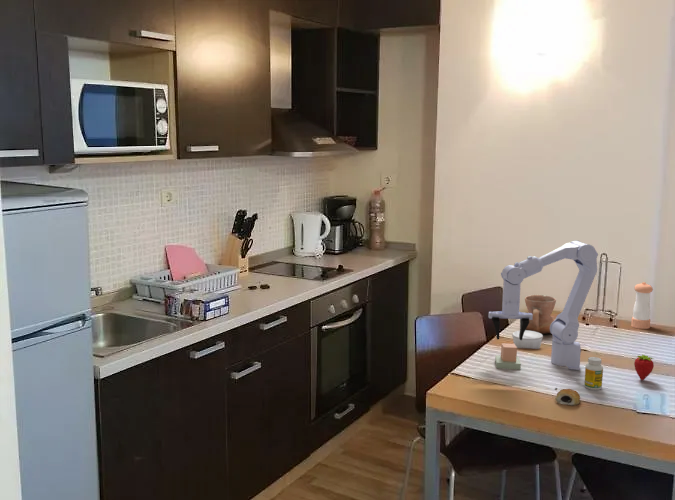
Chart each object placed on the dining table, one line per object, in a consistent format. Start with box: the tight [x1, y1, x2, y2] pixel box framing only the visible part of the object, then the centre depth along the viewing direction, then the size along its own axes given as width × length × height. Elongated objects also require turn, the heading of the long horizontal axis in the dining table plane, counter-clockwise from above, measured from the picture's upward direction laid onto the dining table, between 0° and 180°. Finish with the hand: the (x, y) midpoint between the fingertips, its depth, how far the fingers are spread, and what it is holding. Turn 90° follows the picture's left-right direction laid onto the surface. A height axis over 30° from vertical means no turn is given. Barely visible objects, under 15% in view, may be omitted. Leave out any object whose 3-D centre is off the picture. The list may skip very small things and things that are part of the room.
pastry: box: [555, 388, 581, 407], centre depth 213 cm, size 9×7×4 cm
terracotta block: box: [500, 342, 518, 362], centre depth 240 cm, size 4×4×5 cm
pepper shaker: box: [630, 281, 654, 330], centre depth 292 cm, size 7×7×19 cm
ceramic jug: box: [524, 294, 557, 335], centre depth 284 cm, size 18×14×14 cm
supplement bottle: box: [584, 356, 604, 391], centre depth 223 cm, size 5×5×10 cm
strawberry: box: [633, 354, 655, 381], centre depth 229 cm, size 6×8×10 cm
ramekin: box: [511, 330, 544, 350], centre depth 264 cm, size 11×11×5 cm
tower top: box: [494, 354, 522, 370], centre depth 241 cm, size 8×8×2 cm
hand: (509, 338), depth 240 cm, fingers open, 7 cm apart
